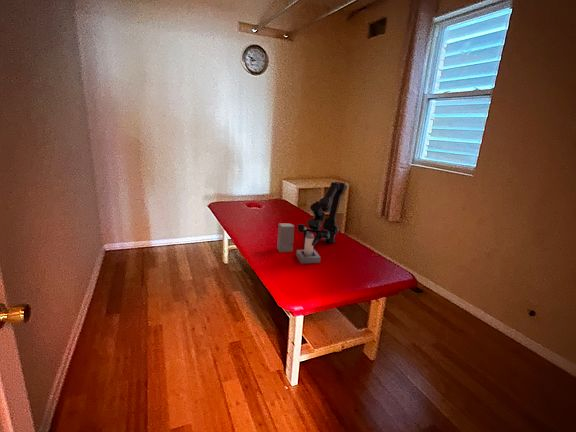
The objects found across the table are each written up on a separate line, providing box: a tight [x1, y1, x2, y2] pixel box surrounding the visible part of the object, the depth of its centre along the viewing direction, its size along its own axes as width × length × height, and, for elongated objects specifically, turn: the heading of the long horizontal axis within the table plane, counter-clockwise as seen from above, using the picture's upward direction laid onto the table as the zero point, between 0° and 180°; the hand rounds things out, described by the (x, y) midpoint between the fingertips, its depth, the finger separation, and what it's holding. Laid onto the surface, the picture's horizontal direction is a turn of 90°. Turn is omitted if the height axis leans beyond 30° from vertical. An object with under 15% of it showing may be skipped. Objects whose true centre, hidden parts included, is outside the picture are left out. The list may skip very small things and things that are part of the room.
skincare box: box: [276, 222, 295, 253], centre depth 185 cm, size 8×7×16 cm
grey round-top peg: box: [303, 232, 315, 256], centre depth 175 cm, size 5×5×13 cm
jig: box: [295, 248, 322, 264], centre depth 177 cm, size 11×11×3 cm
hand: (308, 244), depth 174 cm, fingers closed on grey round-top peg, 5 cm apart
